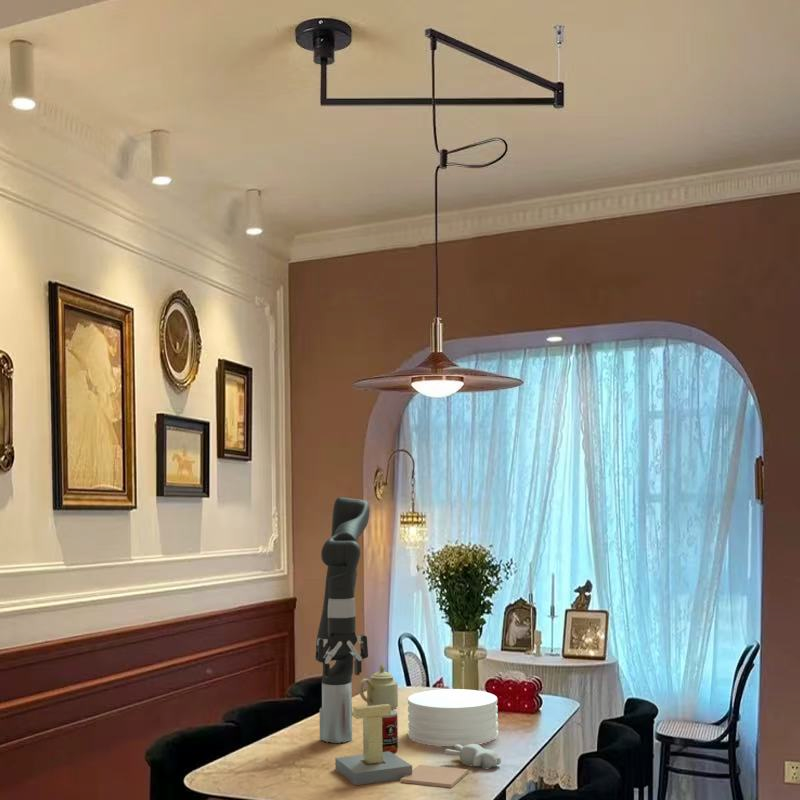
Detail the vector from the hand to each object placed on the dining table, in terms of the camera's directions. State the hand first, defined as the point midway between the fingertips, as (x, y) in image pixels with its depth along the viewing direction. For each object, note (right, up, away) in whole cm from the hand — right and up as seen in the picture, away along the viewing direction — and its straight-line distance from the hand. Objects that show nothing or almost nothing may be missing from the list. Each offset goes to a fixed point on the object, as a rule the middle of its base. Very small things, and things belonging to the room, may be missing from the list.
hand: (342, 676), depth 249 cm
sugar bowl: (+9, -35, +79) cm, 87 cm away
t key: (+8, -26, 0) cm, 27 cm away
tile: (+25, -25, -5) cm, 36 cm away
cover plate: (+8, -26, 0) cm, 27 cm away
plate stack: (+32, -31, +40) cm, 59 cm away
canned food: (+11, -29, +22) cm, 38 cm away
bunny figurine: (+36, -27, +7) cm, 46 cm away
